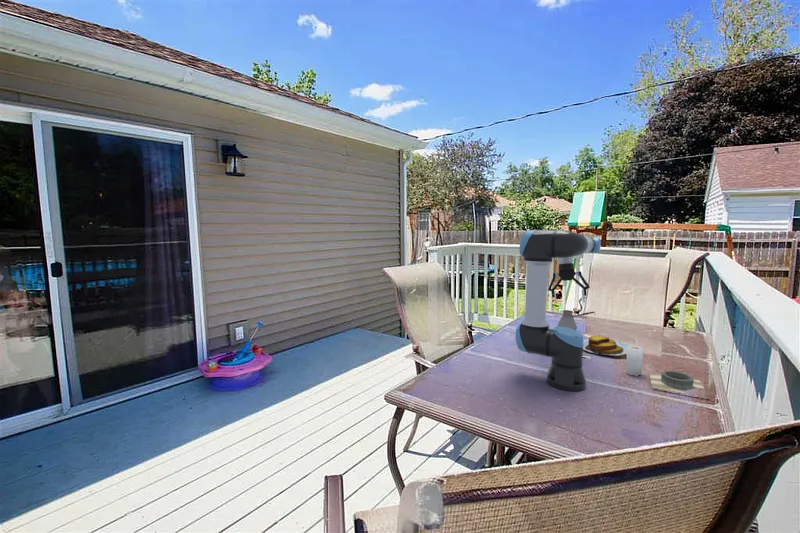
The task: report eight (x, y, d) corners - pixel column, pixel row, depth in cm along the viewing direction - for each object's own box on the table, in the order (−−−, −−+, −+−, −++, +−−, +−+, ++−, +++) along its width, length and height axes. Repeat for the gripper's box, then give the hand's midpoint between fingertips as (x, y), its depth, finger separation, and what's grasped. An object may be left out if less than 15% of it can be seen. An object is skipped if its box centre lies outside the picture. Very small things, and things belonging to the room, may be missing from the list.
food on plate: (635, 362, 178) (636, 349, 178) (578, 354, 189) (579, 342, 189) (628, 346, 201) (629, 335, 200) (578, 340, 212) (579, 329, 211)
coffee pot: (554, 331, 229) (555, 308, 228) (560, 327, 238) (561, 305, 236) (591, 338, 216) (593, 313, 214) (596, 333, 224) (597, 310, 223)
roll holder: (708, 400, 139) (709, 389, 139) (651, 389, 149) (652, 378, 148) (699, 382, 155) (700, 372, 154) (648, 373, 164) (649, 364, 163)
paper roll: (641, 377, 160) (643, 351, 159) (625, 374, 163) (627, 348, 162) (640, 372, 165) (642, 347, 164) (625, 369, 168) (627, 344, 167)
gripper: (591, 261, 194) (595, 301, 192) (541, 265, 203) (544, 303, 202) (592, 260, 187) (597, 301, 185) (540, 265, 197) (544, 304, 195)
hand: (569, 303), depth 193 cm, fingers open, 13 cm apart
